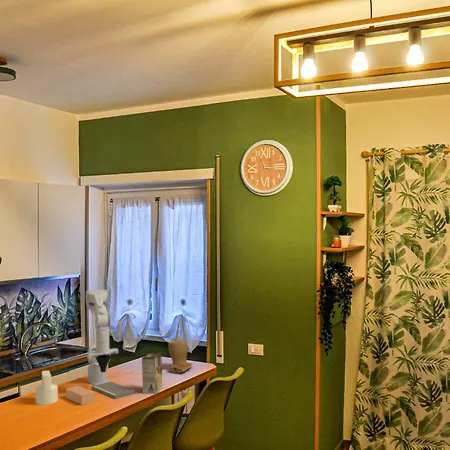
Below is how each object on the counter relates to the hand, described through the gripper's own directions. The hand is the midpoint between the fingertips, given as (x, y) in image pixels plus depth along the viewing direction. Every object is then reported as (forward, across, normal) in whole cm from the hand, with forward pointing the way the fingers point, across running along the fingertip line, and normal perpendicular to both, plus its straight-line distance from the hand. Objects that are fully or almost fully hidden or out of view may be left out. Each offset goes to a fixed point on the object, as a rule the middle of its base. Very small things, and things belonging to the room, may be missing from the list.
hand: (103, 371), depth 245 cm
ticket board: (+9, +4, -2) cm, 10 cm away
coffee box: (+10, +17, -14) cm, 24 cm away
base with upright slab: (+10, -24, +6) cm, 26 cm away
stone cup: (+10, +46, +6) cm, 48 cm away
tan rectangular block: (+9, -13, -2) cm, 16 cm away
